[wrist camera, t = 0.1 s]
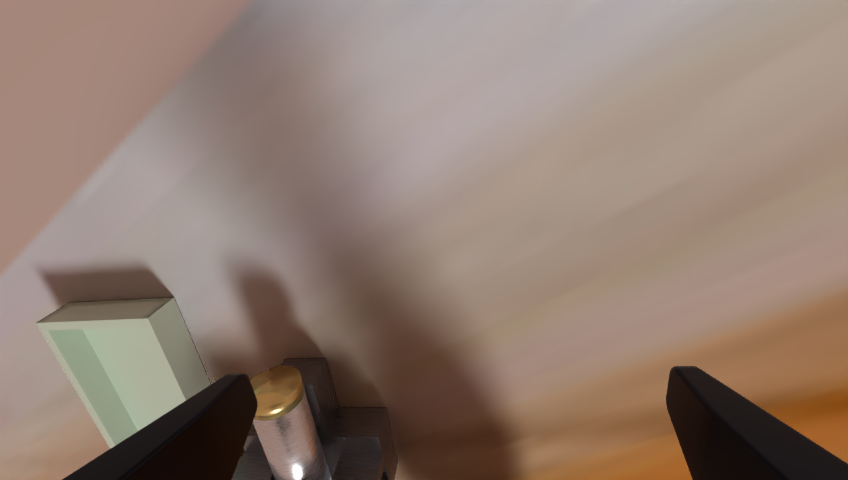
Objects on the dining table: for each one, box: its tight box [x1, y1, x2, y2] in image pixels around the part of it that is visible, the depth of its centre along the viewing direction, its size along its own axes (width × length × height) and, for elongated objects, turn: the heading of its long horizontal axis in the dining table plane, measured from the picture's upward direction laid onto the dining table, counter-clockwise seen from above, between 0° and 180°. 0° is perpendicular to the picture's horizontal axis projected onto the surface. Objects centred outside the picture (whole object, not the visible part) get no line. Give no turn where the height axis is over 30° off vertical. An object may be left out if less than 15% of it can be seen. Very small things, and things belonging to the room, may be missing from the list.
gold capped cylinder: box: [250, 366, 332, 480], centre depth 26 cm, size 12×3×3 cm, turn 7°
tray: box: [36, 297, 241, 463], centre depth 30 cm, size 16×8×2 cm, turn 7°
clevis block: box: [231, 358, 398, 480], centre depth 27 cm, size 10×10×7 cm
